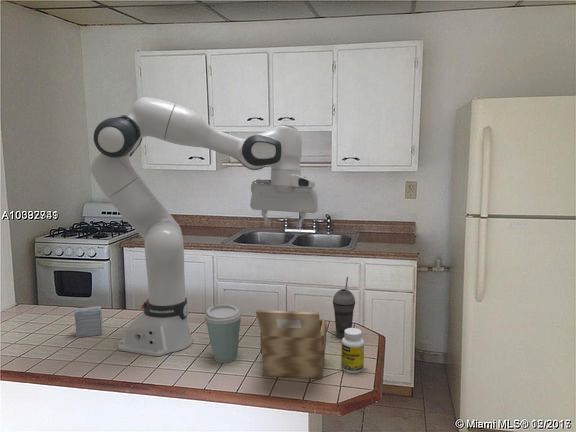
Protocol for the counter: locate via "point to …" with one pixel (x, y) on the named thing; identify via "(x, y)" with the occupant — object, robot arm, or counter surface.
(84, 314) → the grey upright block
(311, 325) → the lid flap
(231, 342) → the disposable coffee cup
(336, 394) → the counter surface
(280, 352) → the cardboard carton
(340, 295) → the beverage cup
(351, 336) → the pill bottle
